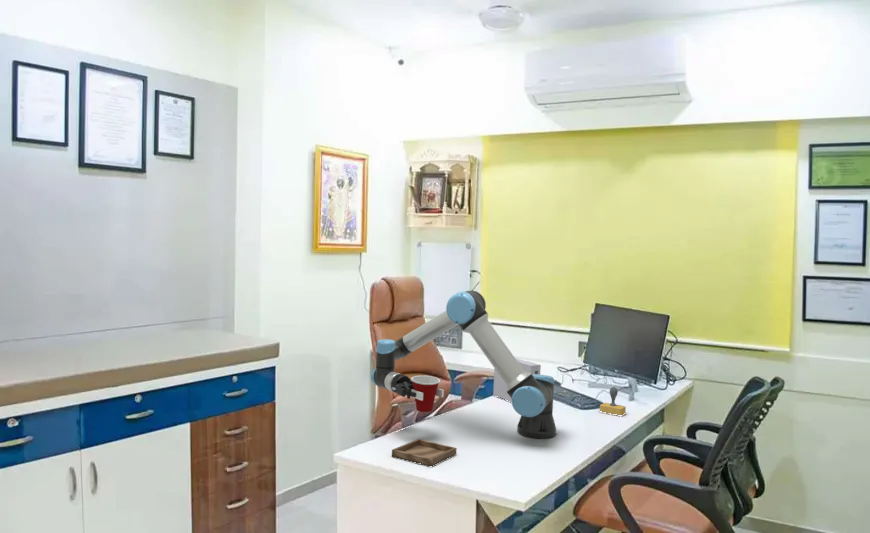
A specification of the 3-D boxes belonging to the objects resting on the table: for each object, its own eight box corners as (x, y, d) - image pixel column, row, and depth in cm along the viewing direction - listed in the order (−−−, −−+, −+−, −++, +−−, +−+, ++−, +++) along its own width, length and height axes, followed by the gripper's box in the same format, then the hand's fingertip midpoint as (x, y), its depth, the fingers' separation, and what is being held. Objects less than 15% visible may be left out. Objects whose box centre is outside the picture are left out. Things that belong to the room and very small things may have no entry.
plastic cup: (417, 415, 238) (419, 382, 238) (405, 408, 248) (406, 376, 247) (444, 412, 243) (445, 380, 243) (431, 405, 253) (432, 374, 252)
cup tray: (456, 454, 229) (456, 447, 229) (431, 467, 216) (431, 459, 216) (418, 445, 238) (418, 438, 238) (391, 456, 224) (391, 449, 224)
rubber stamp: (625, 414, 294) (626, 387, 294) (621, 417, 289) (622, 389, 289) (604, 410, 300) (605, 384, 299) (599, 412, 295) (600, 386, 295)
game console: (502, 395, 321) (504, 354, 321) (539, 408, 298) (541, 364, 297) (493, 396, 318) (494, 355, 318) (529, 409, 295) (531, 365, 294)
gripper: (420, 389, 266) (455, 401, 248) (374, 395, 253) (408, 409, 235) (420, 371, 266) (456, 382, 248) (375, 376, 253) (409, 388, 235)
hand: (432, 395), depth 242 cm, fingers closed on plastic cup, 9 cm apart
